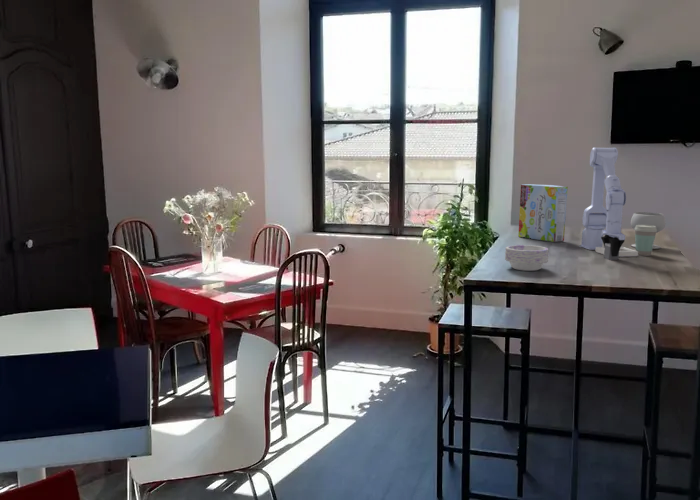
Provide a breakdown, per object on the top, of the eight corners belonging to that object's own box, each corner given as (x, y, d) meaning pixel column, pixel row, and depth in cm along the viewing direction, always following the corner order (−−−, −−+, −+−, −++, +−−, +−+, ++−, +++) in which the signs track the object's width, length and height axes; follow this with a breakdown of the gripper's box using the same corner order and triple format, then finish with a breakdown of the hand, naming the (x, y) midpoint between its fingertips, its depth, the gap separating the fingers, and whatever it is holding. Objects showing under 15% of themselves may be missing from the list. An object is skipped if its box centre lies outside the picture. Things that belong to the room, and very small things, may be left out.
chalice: (625, 244, 294) (628, 211, 292) (658, 245, 292) (661, 212, 289) (632, 249, 281) (635, 215, 278) (667, 250, 278) (670, 215, 276)
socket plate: (595, 251, 275) (595, 246, 274) (622, 251, 276) (622, 246, 276) (610, 256, 263) (610, 251, 262) (637, 256, 264) (638, 250, 264)
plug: (603, 257, 260) (605, 243, 259) (613, 257, 260) (614, 243, 259) (609, 259, 256) (610, 244, 255) (618, 259, 256) (619, 244, 255)
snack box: (565, 241, 302) (569, 186, 297) (553, 243, 297) (556, 186, 293) (528, 235, 319) (531, 183, 315) (516, 236, 315) (519, 183, 310)
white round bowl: (515, 263, 248) (516, 242, 247) (554, 268, 238) (555, 247, 237) (497, 269, 236) (498, 247, 235) (537, 274, 227) (538, 252, 226)
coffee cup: (657, 256, 263) (659, 227, 261) (634, 255, 265) (637, 226, 263) (651, 253, 271) (654, 224, 269) (630, 252, 273) (632, 224, 271)
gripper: (595, 219, 262) (593, 252, 265) (614, 223, 248) (611, 258, 250) (611, 219, 263) (609, 251, 265) (631, 223, 249) (628, 258, 251)
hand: (611, 255), depth 258 cm, fingers closed on plug, 4 cm apart
